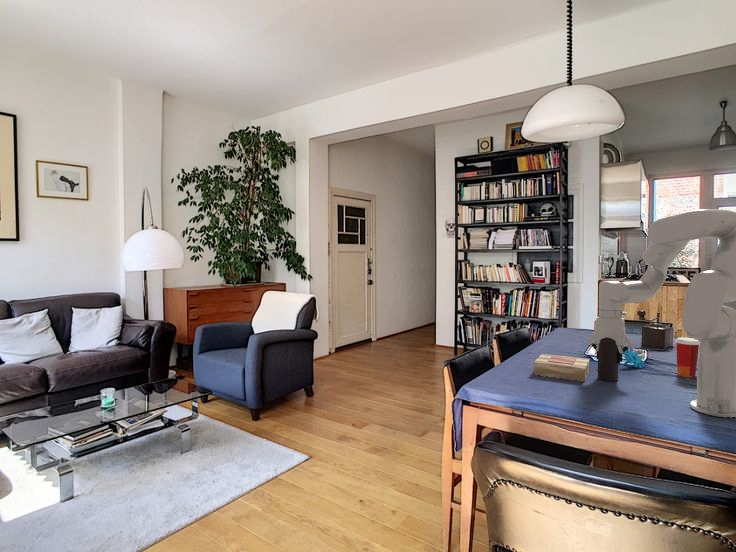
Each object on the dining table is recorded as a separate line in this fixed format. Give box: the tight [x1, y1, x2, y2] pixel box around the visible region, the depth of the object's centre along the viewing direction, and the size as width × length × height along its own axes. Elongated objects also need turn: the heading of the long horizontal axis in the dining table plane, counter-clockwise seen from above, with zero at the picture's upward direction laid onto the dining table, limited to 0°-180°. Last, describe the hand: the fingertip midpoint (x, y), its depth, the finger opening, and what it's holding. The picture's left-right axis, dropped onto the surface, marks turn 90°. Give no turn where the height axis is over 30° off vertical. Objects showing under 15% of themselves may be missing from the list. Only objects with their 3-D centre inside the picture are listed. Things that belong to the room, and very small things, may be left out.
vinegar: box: [597, 337, 619, 382], centre depth 167 cm, size 7×7×20 cm
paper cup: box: [674, 337, 700, 378], centre depth 171 cm, size 8×8×14 cm
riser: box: [533, 353, 591, 383], centre depth 176 cm, size 16×18×5 cm
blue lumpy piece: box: [622, 347, 646, 369], centre depth 186 cm, size 11×6×10 cm
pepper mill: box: [636, 309, 674, 349], centre depth 221 cm, size 16×11×18 cm
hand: (609, 362), depth 167 cm, fingers closed on vinegar, 5 cm apart
